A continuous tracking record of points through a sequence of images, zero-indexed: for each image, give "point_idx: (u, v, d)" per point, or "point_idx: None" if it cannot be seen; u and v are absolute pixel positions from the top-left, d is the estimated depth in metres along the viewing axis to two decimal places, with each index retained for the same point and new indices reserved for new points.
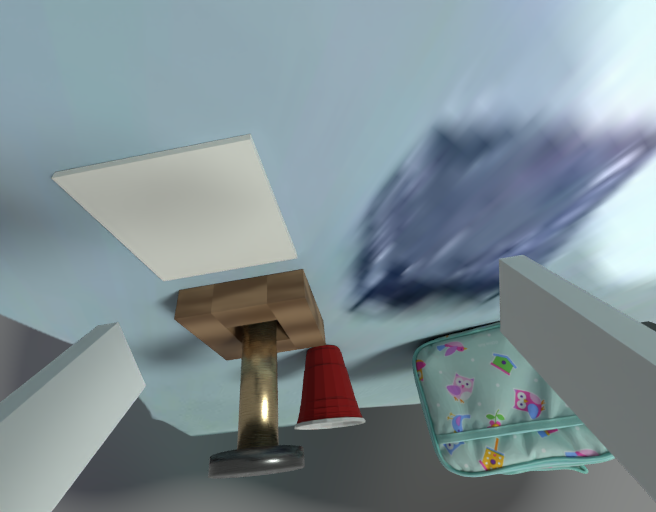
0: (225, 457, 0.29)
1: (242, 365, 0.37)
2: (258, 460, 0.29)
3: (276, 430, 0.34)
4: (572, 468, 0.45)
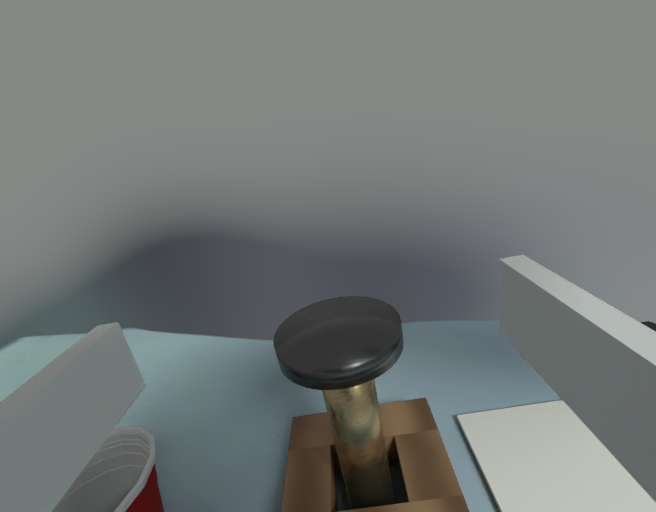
0: None
1: None
2: (401, 334, 0.22)
3: None
4: None
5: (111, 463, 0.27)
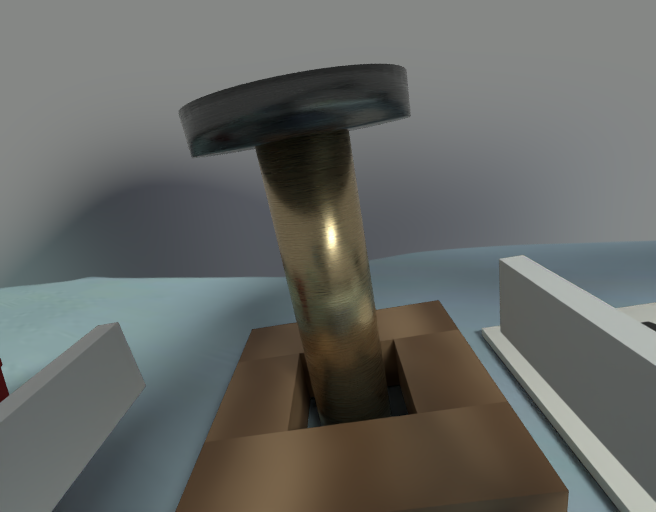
0: None
1: None
2: (406, 85, 0.12)
3: (313, 182, 0.13)
4: None
5: None
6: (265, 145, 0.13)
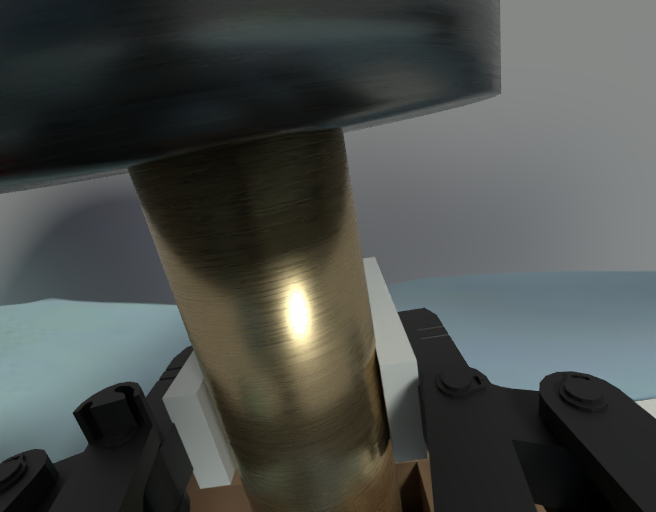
0: None
1: None
2: None
3: (254, 262, 0.05)
4: None
5: None
6: (135, 169, 0.05)
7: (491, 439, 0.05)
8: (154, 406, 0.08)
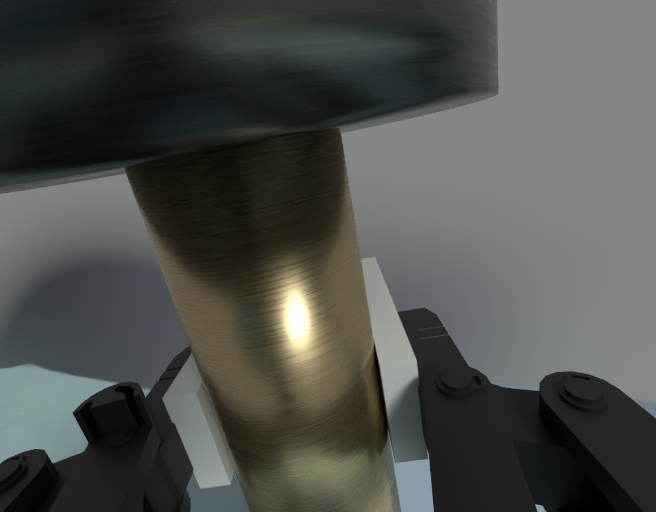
0: None
1: None
2: None
3: (251, 263, 0.05)
4: None
5: None
6: (132, 170, 0.05)
7: (491, 439, 0.05)
8: (155, 405, 0.08)
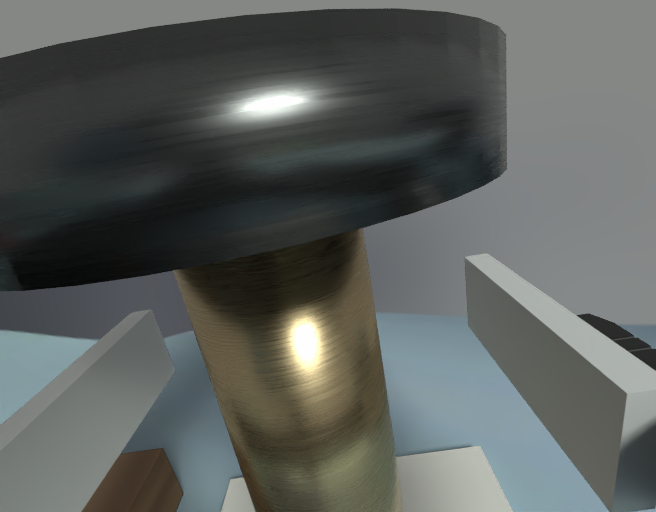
0: None
1: None
2: None
3: (276, 312, 0.06)
4: None
5: None
6: None
7: None
8: None
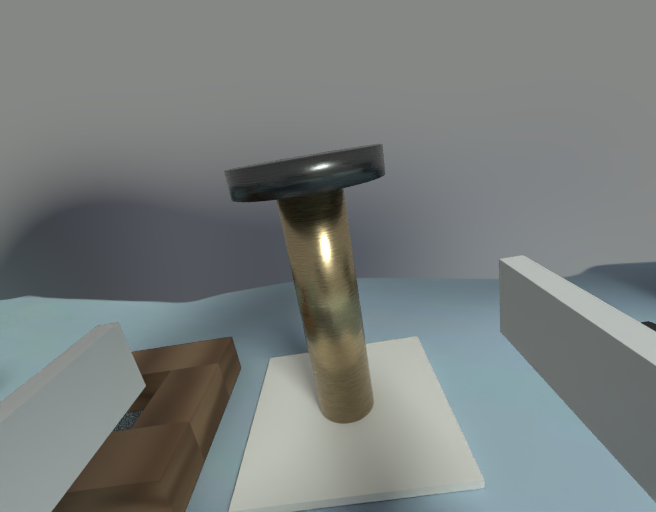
0: None
1: None
2: (382, 155, 0.18)
3: (316, 219, 0.18)
4: None
5: None
6: None
7: None
8: None
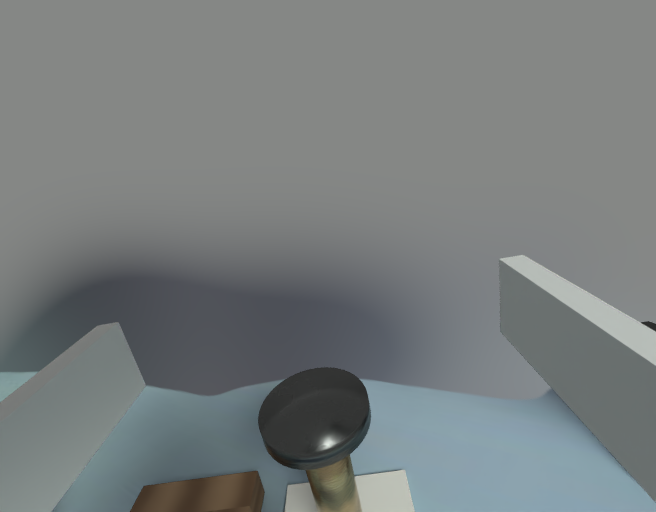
0: None
1: None
2: (367, 415, 0.26)
3: None
4: None
5: None
6: None
7: None
8: None
